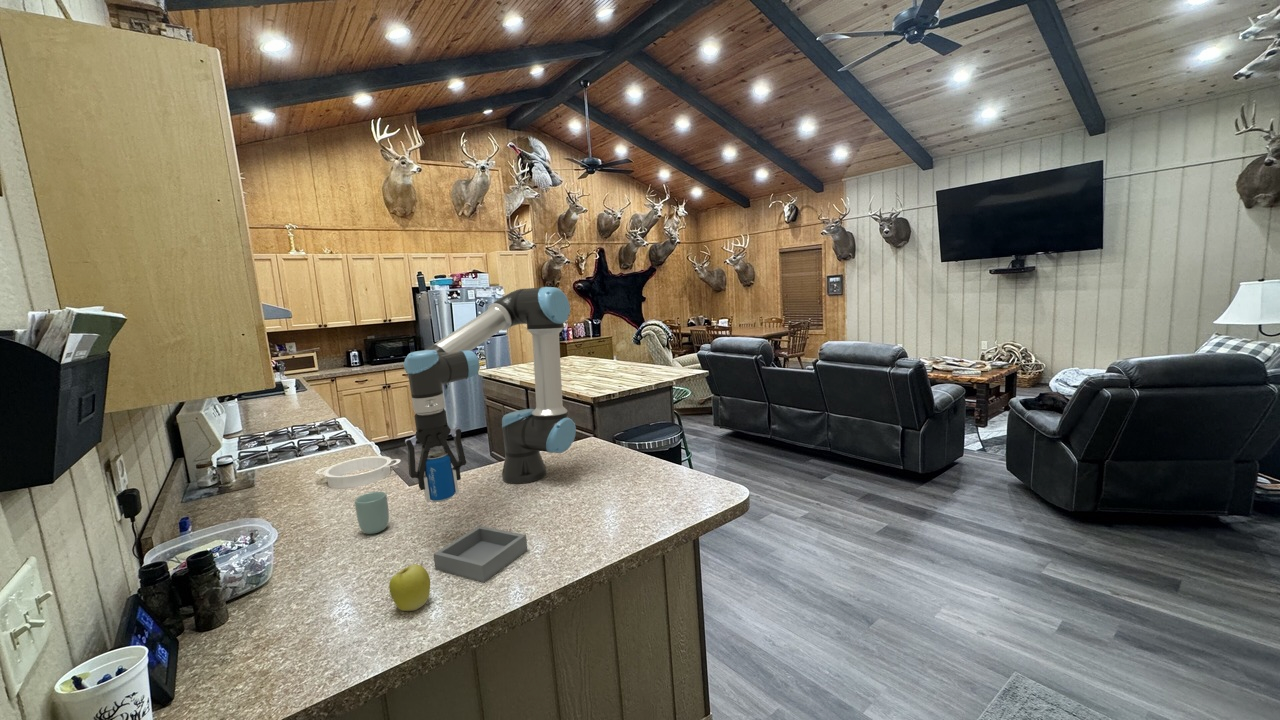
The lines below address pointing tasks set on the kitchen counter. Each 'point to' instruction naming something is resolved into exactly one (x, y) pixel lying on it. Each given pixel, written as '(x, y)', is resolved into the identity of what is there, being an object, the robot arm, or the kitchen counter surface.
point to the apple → (410, 588)
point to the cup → (372, 512)
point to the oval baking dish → (357, 464)
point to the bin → (480, 553)
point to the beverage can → (439, 476)
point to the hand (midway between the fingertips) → (442, 496)
